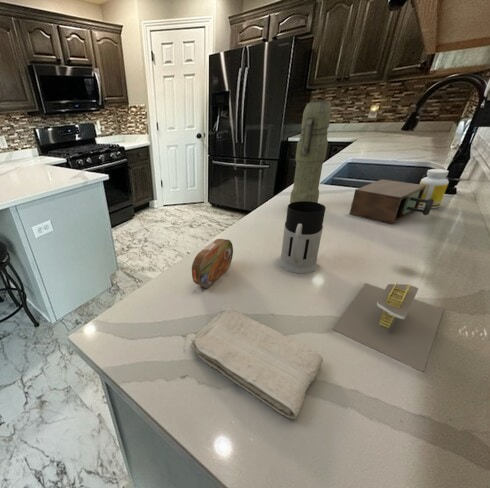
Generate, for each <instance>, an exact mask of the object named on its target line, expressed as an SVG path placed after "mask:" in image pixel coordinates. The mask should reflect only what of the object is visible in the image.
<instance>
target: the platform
mask: <svg viewBox="0 0 490 488" xmlns="http://www.w3.org/2000/svg"><path fill="white" fill-rule="evenodd" d="M418 291H419V288H418V287H417V286H415V285H411V284H410V283H406V284H405V283H399V281H398V280H397V281H396V282H395V283H388V284H387V285H386V287H385V288H381V287H378V286H377V285H372V284H369V283H366V282H365V283H363V285H362V287H361V288H360V290H359V291H358V292H357V294H356V296H354V298H353V300H352V301H351V302H350V303H349V305H348V307H346V309H345V310H344V312H343V313H342V315H341V316H340V317H339V319H338V320H337V322H336V323H335V324H334V326H333V327H332V330H333V331H335V332H337V333H339V334H341V335H344V336H346V337H347V338H350V339H352V340H354V341H356V342H359V343H361V344H363V345H365V346H367V347H369V348H370V349H373V350H376V351H378V352H380V353H382V354H383V355H386V356H388V357H391V358H393V359H394V360H397V361H399V362H401V363H403V364H405V365H408V366H409V367H412V368H414V369H416V370H418V371H420V372H423V373H424V372H425V370H426V365H427V363H428V359H429V356H430V353H431V350H432V347H433V343H434V341H435V338H436V335H437V331H438V328H439V325H440V321H441V318H442V316H443V312H444V308H442V307H439V306H436V305H433V304H429V303H427V302H425V301H421V300H418V299H415V298H416V295H417V294H418Z"/></svg>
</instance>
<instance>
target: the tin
mask: <svg viewBox="0 0 490 488" xmlns="http://www.w3.org/2000/svg"><path fill="white" fill-rule="evenodd" d="M233 256H234V247H233V243H232V241H231V240H230V239H224V238H216V239H215V240H213V241H212V242H210V243H209V244H208V245H207V246H206V247H204V248H203V249H202V250H201V251H199V252H198V253H197V254H196V256H195V257H194V259H193V262H192V264H191V278H192V281H193V283H194V284H195V285H198V286H200V287H203V288H205V289H207V288H210V287H211V286H212V285H214V283H215V282H216V281H217V280H219V279H220V278H221V276H223V274H225V273H226V272H227V271H228V269H229V268H230V266H231V263H232V261H233Z"/></svg>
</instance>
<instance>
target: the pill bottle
mask: <svg viewBox="0 0 490 488" xmlns="http://www.w3.org/2000/svg"><path fill="white" fill-rule="evenodd" d="M449 172H450V171H449V170H447V169H442V168H432V169H427V172H426V176H424V177H422V178H421V180H420V182H419V184H420V185H426V188H425V191H424V193H423V196H422V199H425V200H428V199H433V200H434V202H433V205H432V208H431V209H437V208H440V205H441V203H442V202H443V198H444V196H445V194H446V191H447V189H448V186H449V183H450V182H449V179H448V178H447V177H448V175H449ZM425 205H426V203H423V202H420V204H419V207H418V208H421V209H424V208H425Z"/></svg>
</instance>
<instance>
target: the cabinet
mask: <svg viewBox="0 0 490 488" xmlns="http://www.w3.org/2000/svg"><path fill="white" fill-rule="evenodd" d="M425 188H426V185H420V183H412V182H406V181H405V182H404V181H397V180H390V179H379V180H376V181H374V182H370V183H368V184H365V185H363V186H360V187H359V188H358V187H357V188H356V189H355V190H354V194H353V198H352V202H351V206H350V211H349V215H351V216H355V217H359V218H363V219H366V220H367V219H368V220H372V221H375V222H380V223H383V224H386V225H387V224H388V225H391V226H392V225H394V224H396V223H398V222H400V221H402V220H403V219H405V218H407V217H409V216H412V214H414V213H416V211H409V212H407V213H406V214H404V215H403V214H401V213H402V210H403V208H404V205H405V202H406V199H407V197H408V196H410V195H413V194H415V193H417V192H419V191H420V193H419V196H418V198H420V199H422V196H423V193H424V191H425ZM419 204H420V202H417V201H416V204H415V207H414V208H418V209H419V208H420V207H419Z"/></svg>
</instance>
